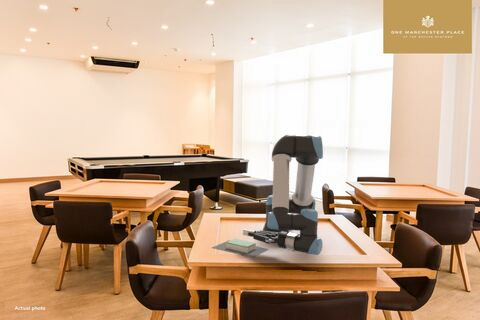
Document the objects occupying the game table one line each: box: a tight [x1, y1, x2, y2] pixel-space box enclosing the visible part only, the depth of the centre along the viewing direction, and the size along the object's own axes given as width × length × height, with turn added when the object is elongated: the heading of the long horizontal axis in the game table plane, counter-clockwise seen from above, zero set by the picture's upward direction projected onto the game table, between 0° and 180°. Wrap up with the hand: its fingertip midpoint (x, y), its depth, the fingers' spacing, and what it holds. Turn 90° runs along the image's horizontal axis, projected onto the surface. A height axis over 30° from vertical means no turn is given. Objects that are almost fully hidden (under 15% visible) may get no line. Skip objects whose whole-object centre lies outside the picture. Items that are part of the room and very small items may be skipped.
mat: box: [211, 240, 270, 259], centre depth 184 cm, size 24×16×1 cm, turn 58°
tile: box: [226, 238, 257, 253], centre depth 183 cm, size 3×8×12 cm
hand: (243, 232), depth 182 cm, fingers closed
